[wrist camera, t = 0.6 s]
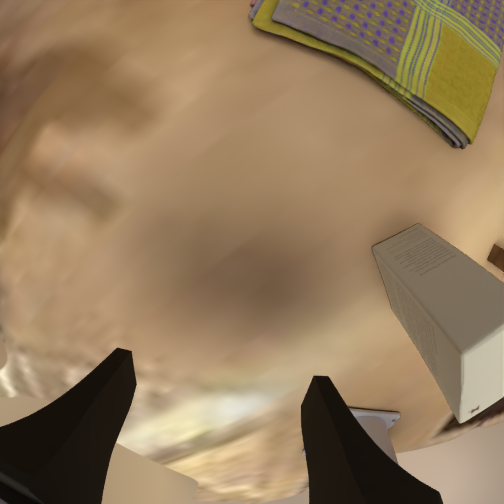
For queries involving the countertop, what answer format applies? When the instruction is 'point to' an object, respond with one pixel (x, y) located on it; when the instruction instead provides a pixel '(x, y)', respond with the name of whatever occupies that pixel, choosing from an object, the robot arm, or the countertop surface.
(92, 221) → the countertop surface
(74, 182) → the countertop surface
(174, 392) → the countertop surface
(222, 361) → the countertop surface
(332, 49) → the dish towel
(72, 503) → the robot arm
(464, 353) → the skincare box
